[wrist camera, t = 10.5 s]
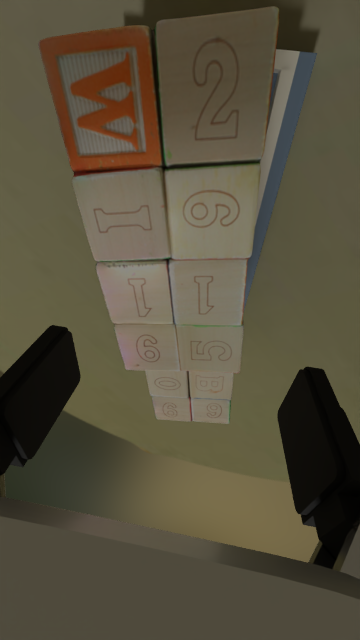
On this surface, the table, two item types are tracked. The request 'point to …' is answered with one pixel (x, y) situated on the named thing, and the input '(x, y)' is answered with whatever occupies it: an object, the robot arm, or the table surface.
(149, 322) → the stack of blocks
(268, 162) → the shallow rectangular tray
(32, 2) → the table surface
